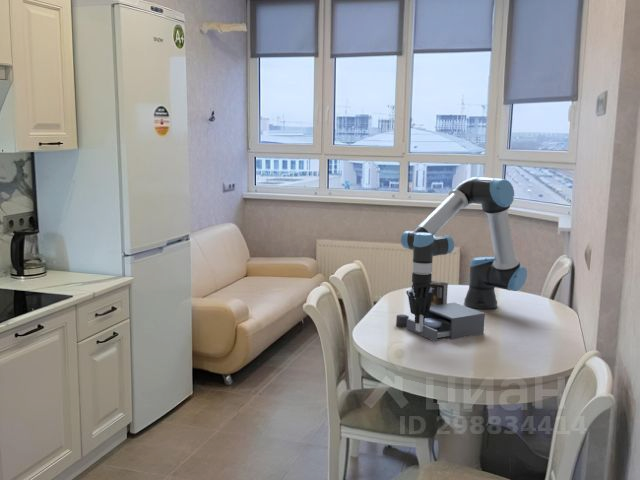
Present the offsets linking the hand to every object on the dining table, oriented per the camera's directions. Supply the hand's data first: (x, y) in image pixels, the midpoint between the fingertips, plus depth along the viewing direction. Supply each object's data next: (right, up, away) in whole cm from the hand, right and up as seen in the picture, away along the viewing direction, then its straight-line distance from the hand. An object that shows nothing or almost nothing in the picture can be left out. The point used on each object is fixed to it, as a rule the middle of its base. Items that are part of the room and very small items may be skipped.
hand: (419, 330), depth 241 cm
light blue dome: (+5, +2, +3) cm, 6 cm away
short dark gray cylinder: (-5, 0, +13) cm, 14 cm away
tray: (+8, -1, +5) cm, 9 cm away
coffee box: (+11, +1, +25) cm, 27 cm away
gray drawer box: (+15, -1, +9) cm, 18 cm away
